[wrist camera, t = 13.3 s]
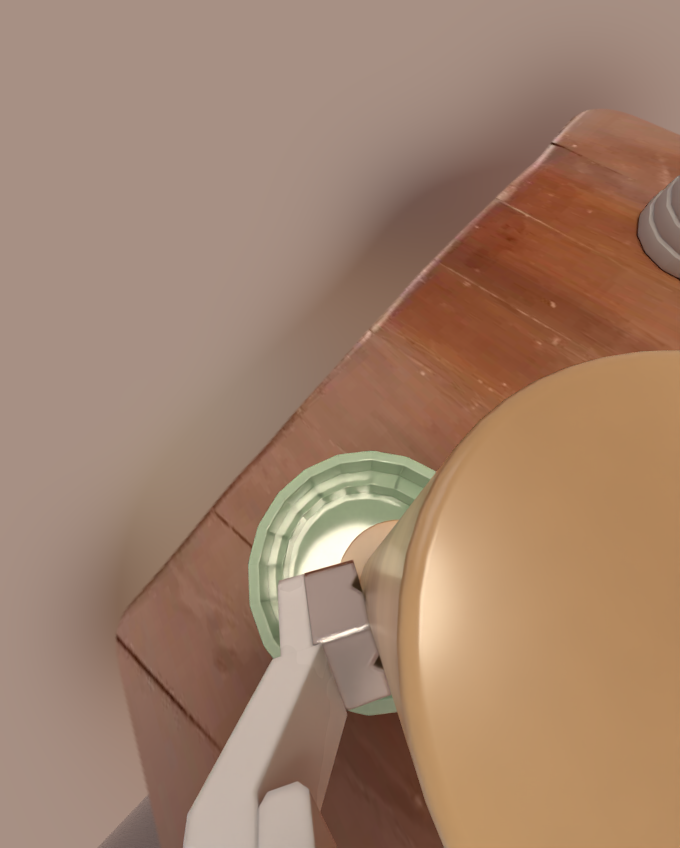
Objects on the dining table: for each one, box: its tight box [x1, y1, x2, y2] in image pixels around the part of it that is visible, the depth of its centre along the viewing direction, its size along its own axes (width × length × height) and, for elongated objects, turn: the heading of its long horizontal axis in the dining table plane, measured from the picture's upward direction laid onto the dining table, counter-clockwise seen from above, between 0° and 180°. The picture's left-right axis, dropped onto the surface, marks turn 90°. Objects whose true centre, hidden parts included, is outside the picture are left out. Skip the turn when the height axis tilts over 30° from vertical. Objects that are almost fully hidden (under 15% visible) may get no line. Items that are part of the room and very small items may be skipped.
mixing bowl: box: [248, 451, 436, 716], centre depth 29 cm, size 15×15×6 cm
